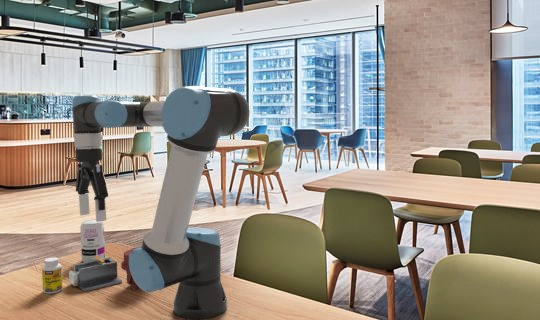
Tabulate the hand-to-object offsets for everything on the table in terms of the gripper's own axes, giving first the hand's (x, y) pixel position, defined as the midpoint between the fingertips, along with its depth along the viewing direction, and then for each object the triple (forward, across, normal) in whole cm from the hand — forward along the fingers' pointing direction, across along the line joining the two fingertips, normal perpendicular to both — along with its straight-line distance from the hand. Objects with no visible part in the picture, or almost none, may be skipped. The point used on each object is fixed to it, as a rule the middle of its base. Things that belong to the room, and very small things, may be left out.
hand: (92, 217), depth 138 cm
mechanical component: (+24, -2, -13) cm, 28 cm away
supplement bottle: (+24, +12, +9) cm, 28 cm away
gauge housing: (+24, +12, -4) cm, 27 cm away
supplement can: (+23, +33, -11) cm, 42 cm away
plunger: (+23, +12, -2) cm, 26 cm away
